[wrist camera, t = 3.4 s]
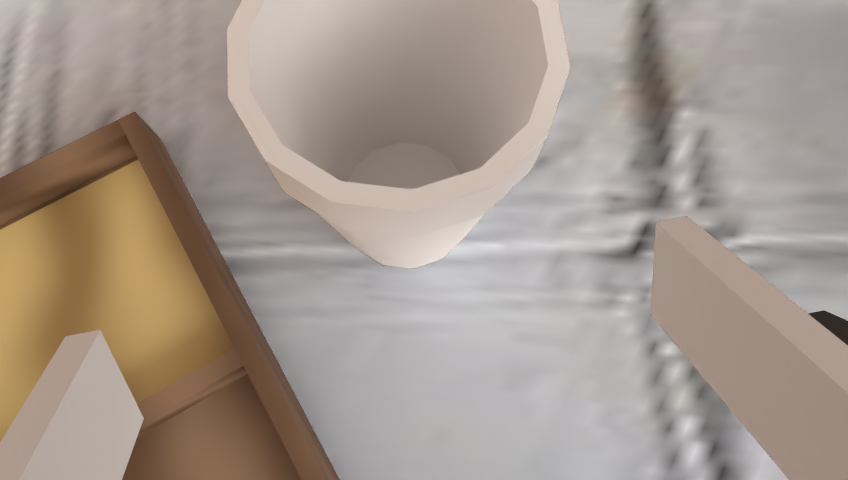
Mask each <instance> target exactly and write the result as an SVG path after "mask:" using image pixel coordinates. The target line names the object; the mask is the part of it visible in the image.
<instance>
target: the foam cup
mask: <svg viewBox="0 0 848 480" xmlns="http://www.w3.org/2000/svg"><path fill="white" fill-rule="evenodd" d="M227 70H228V98H229V100H230V102H231V103H232V105H233V107H234V109H235V110H236V112H237V114H238V115H239V117H240V119H241V120H242V122H243V124H244V126H245V127H246V129H247V131H248V132H249V134H250V136H251V138H252V139H253V141H254V143H255V144H256V146H257V148H258V149H259V151H260V153H261V155H262V156H263V158H264V160H265V161H266V163H267V165H268V166H269V168H270V170H271V171H272V173H273V174H274V176H275V178H276V179H277V181H278V183H279V184H280V186H281V188H282V189H283V191H284V192H285V193H287V194H288V195H290V196H291V197H293V198H295V199H296V200H298V201H299V202H301V203H303V204H304V205H306V206H307V207H309V208H310V209H312V210H314V211H315V212H317V213H318V214H319V215H320V216H321V217H322V218H323V219H324V220H325V221H327V222H328V223H329V224H330V225H331V226H332V227H333V228H334V229H335V230H336V231H338V232H339V233H340V234H341V235H342V236H343V237H344V238H345V239H346V240H348V241H349V242H350V243H351V244H352V245H353V246H354V247H355V248H357V249H358V250H360V251H361V252H363V253H364V254H366V255H367V256H369V257H371V258H372V259H374V260H375V261H377V262H379V263H380V264H382V265H386V266H394V267H402V268H411V269H413V268H416V267H419V266H422V265H425V264H428V263H432V262H435V261H438V260H441V259H442V258H443V257H444V256H445V255H446V254H447V253H448V252H449V251H450V250H451V249H452V248H453V247H454V246H456V245H457V244H458V243H459V242H460V241H461V240H462V239H463V238H464V237H465V236H466V235H467V233H468V232H469V231H470V230H471V229H472V228H473V227H474V225H475V224H476V223H477V222H478V221H479V220H480V218H481V217H482V216H483V215H484V214H485V213H486V212H487V211H488V210H490V209H491V208H492V207H493V206H494V205H495V204H496V203H497V202H498V201H499V200H500V199H501V198H502V197H503V196H504V195H505V194H506V193H507V192H508V191H509V190H510V189H511V188H513V187H514V186H515V185H516V184H517V183H518V182H519V181H520V180H521V179H522V178H523V177H524V176H525V175H526V174H527V173H528V172H529V171H530V170H531V169H532V168H533V166H534V164H535V161H536V159H537V157H538V155H539V153H540V151H541V149H542V147H543V145H544V142H545V140H546V138H547V136H548V134H549V131H550V128H551V125H552V122H553V119H554V116H555V113H556V110H557V107H558V104H559V101H560V98H561V95H562V92H563V89H564V86H565V83H566V80H567V77H568V74H569V71H570V63H569V58H568V53H567V47H566V42H565V37H564V32H563V27H562V21H561V16H560V11H559V6H558V2H557V0H242V1H241V3H240V5H239V7H238V9H237V11H236V12H235V14H234V16H233V18H232V20H231V22H230V24H229V26H228V28H227Z"/></svg>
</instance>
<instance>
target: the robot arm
mask: <svg viewBox="0 0 848 480" xmlns="http://www.w3.org/2000/svg"><path fill="white" fill-rule="evenodd" d="M650 315H651V316H652V317H653V318H654V319H655V321H656V322H657V323H658V324H659V325H660V326H661V328H662V329H663V330H664V331H665V332H666V334H667V335H668V336H669V337H670V338H671V340H672V341H673V342H674V343H675V344H676V346H677V347H678V348H679V349H680V350H681V351H682V353H683V354H684V355H685V356H686V357H687V359H688V360H689V361H690V362H691V363H692V365H693V366H694V367H695V368H696V369H697V371H698V372H699V373H700V374H701V375H702V376H703V378H704V379H705V380H706V381H707V382H708V384H709V385H710V386H711V387H712V388H713V390H714V391H715V392H716V393H717V394H718V396H719V397H720V398H721V399H722V400H723V401H724V403H725V404H726V405H727V406H728V407H729V409H730V410H731V411H732V412H733V413H734V415H735V416H736V417H737V418H738V419H739V421H740V422H741V423H742V424H743V425H744V426H745V428H746V429H747V430H748V431H749V432H750V434H751V435H752V436H753V437H754V438H755V440H756V441H757V442H758V443H759V444H760V446H761V447H762V448H763V449H764V450H765V451H766V453H767V454H768V455H769V456H770V457H771V459H772V460H773V461H774V462H775V463H776V465H777V466H778V467H779V468H780V469H781V471H782V472H783V473H784V474H785V475H786V476H787V478H788V479H789V480H848V321H847V320H844V319H842V318H840V317H838V316H835V315H833V314H831V313H828V312H826V311H819V312H814V313H809V314H808V313H807V312H805V311H804V310H803V309H802V308H800V307H799V306H798V305H797V304H795V303H794V302H793V301H792V300H790V299H789V298H788V297H787V296H785V295H784V294H783V293H782V292H780V291H779V290H778V289H777V288H775V287H774V286H773V285H772V284H770V283H769V282H768V281H767V280H765V279H764V278H763V277H762V276H761V275H759V274H758V273H757V272H756V271H754V270H753V269H752V268H751V267H749V266H748V265H747V264H746V263H744V262H743V261H742V260H741V259H739V258H738V257H737V256H736V255H734V254H733V253H732V252H731V251H729V250H728V249H727V248H726V247H724V246H723V245H722V244H721V243H719V242H718V241H717V240H716V239H714V238H713V237H712V236H711V235H710V234H708V233H707V232H706V231H705V230H703V229H702V228H701V227H700V226H698V225H697V224H696V223H695V222H693V221H692V220H691V219H690V218H688V217H687V216H684V217H679V218H674V219H669V220H663V221H658V222H656V234H655V250H654V266H653V282H652V298H651V314H650ZM143 419H144V418H143V416H142V414H141V412H140V410H139V408H138V406H137V404H136V402H135V399H134V397H133V395H132V393H131V391H130V389H129V387H128V385H127V383H126V381H125V379H124V377H123V375H122V373H121V371H120V369H119V367H118V365H117V363H116V361H115V359H114V357H113V355H112V353H111V351H110V349H109V347H108V344H107V342H106V340H105V338H104V336H103V334H102V332H101V330H96V331H91V332H86V333H81V334H75V335H70V336H65V338H64V340H63V341H62V343H61V344H60V346H59V348H58V349H57V351H56V353H55V354H54V356H53V357H52V359H51V361H50V362H49V364H48V366H47V367H46V369H45V370H44V372H43V374H42V375H41V377H40V379H39V380H38V382H37V383H36V385H35V387H34V388H33V390H32V392H31V393H30V395H29V396H28V398H27V400H26V401H25V403H24V405H23V406H22V408H21V409H20V411H19V413H18V414H17V416H16V418H15V419H14V421H13V422H12V424H11V426H10V427H9V429H8V431H7V432H6V434H5V435H4V437H3V439H2V440H1V442H0V480H122V478H123V475H124V473H125V470H126V467H127V464H128V461H129V459H130V456H131V453H132V450H133V447H134V444H135V442H136V439H137V436H138V433H139V430H140V428H141V425H142V422H143Z"/></svg>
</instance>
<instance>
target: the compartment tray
mask: <svg viewBox="0 0 848 480" xmlns="http://www.w3.org/2000/svg"><path fill="white" fill-rule="evenodd" d="M96 330H101V332H102V334H103V336H104V338H105V340H106V342H107V344H108V347H109V349H110V351H111V353H112V355H113V357H114V359H115V361H116V363H117V365H118V367H119V369H120V371H121V373H122V375H123V377H124V379H125V381H126V383H127V385H128V387H129V389H130V391H131V393H132V395H133V397H134V399H135V402H136V404H137V406H138V408H139V410H140V412H141V414H142V416H143V418H144V419H143V422H142V425H141V428H140V430H139V433H138V436H137V439H136V442H135V444H134V447H133V450H132V453H131V456H130V459H129V461H128V464H127V467H126V470H125V473H124V475H123V478H122V480H339V478H338V476H337V474H336V472H335V470H334V468H333V466H332V465H331V463H330V461H329V459H328V457H327V455H326V453H325V451H324V449H323V447H322V445H321V444H320V442H319V440H318V438H317V436H316V434H315V432H314V430H313V428H312V426H311V425H310V423H309V421H308V419H307V417H306V415H305V413H304V411H303V409H302V407H301V405H300V404H299V402H298V400H297V398H296V396H295V394H294V392H293V390H292V388H291V386H290V385H289V383H288V381H287V379H286V377H285V375H284V373H283V371H282V369H281V367H280V365H279V364H278V362H277V360H276V358H275V356H274V354H273V352H272V350H271V348H270V346H269V345H268V343H267V341H266V339H265V337H264V335H263V333H262V331H261V329H260V327H259V325H258V324H257V322H256V320H255V318H254V316H253V314H252V312H251V310H250V308H249V306H248V305H247V303H246V301H245V299H244V297H243V295H242V293H241V291H240V289H239V287H238V285H237V284H236V282H235V280H234V278H233V276H232V274H231V272H230V270H229V268H228V266H227V265H226V263H225V261H224V259H223V257H222V255H221V253H220V251H219V249H218V247H217V245H216V244H215V242H214V240H213V238H212V236H211V234H210V232H209V230H208V228H207V226H206V225H205V223H204V221H203V219H202V217H201V215H200V213H199V211H198V209H197V207H196V205H195V204H194V202H193V200H192V198H191V196H190V194H189V192H188V190H187V188H186V186H185V185H184V183H183V181H182V179H181V177H180V175H179V173H178V171H177V169H176V167H175V165H174V164H173V162H172V160H171V158H170V156H169V154H168V152H167V150H166V148H165V146H164V145H163V143H162V141H161V139H160V138H159V137H158V136H157V135H156V133H155V132H154V131H153V130H152V129H151V128H150V127H149V126H148V125H147V124H146V123H145V122H144V121H143V120H142V119H141V118H140V116H139V115H138V114H137V113H136V112H133V113H131V114H129V115H127V116H125V117H123V118H121V119H119V120H117V121H115V122H113V123H111V124H109V125H107V126H105V127H103V128H101V129H99V130H97V131H95V132H93V133H91V134H89V135H87V136H85V137H83V138H80V139H78V140H76V141H74V142H72V143H70V144H68V145H66V146H64V147H62V148H60V149H58V150H56V151H54V152H52V153H50V154H48V155H46V156H44V157H42V158H40V159H38V160H36V161H34V162H32V163H30V164H28V165H26V166H24V167H22V168H20V169H18V170H16V171H14V172H12V173H10V174H8V175H6V176H4V177H2V178H0V442H1V440H2V439H3V437H4V435H5V434H6V432H7V431H8V429H9V427H10V426H11V424H12V422H13V421H14V419H15V418H16V416H17V414H18V413H19V411H20V409H21V408H22V406H23V405H24V403H25V401H26V400H27V398H28V396H29V395H30V393H31V392H32V390H33V388H34V387H35V385H36V383H37V382H38V380H39V379H40V377H41V375H42V374H43V372H44V370H45V369H46V367H47V366H48V364H49V362H50V361H51V359H52V357H53V356H54V354H55V353H56V351H57V349H58V348H59V346H60V344H61V343H62V341H63V340H64V338H65V336H70V335H75V334H81V333H86V332H91V331H96Z"/></svg>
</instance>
